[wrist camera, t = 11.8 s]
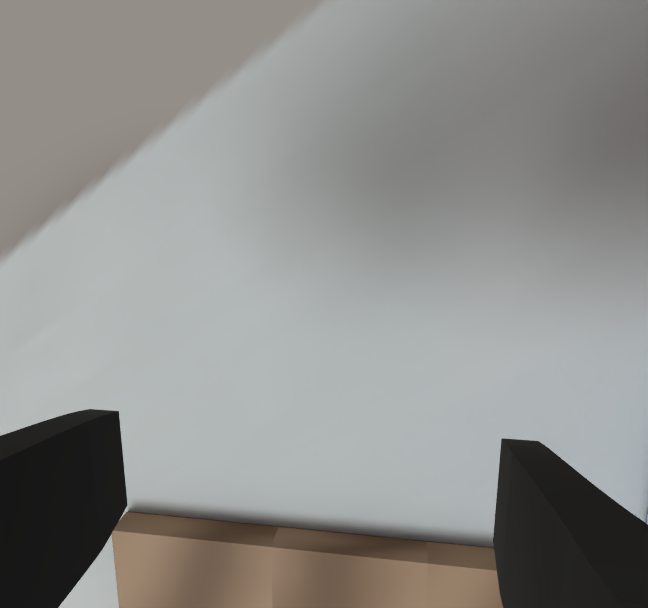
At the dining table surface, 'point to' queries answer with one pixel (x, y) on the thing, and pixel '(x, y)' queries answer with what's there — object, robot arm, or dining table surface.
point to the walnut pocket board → (291, 568)
